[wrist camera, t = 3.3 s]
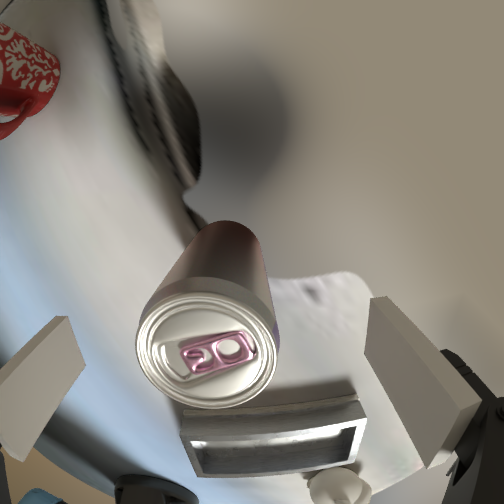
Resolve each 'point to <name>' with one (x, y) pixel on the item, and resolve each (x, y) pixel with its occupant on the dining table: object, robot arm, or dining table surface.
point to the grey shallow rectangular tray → (273, 438)
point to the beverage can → (211, 322)
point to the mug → (24, 78)
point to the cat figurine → (339, 487)
